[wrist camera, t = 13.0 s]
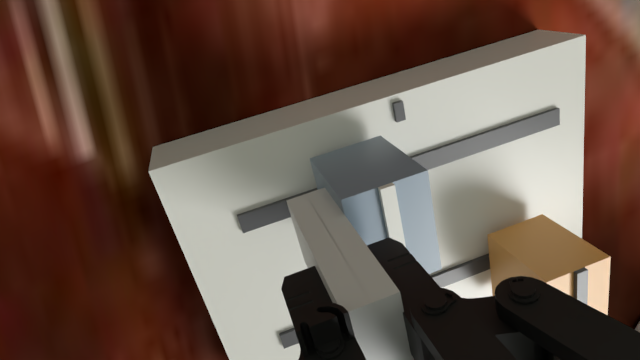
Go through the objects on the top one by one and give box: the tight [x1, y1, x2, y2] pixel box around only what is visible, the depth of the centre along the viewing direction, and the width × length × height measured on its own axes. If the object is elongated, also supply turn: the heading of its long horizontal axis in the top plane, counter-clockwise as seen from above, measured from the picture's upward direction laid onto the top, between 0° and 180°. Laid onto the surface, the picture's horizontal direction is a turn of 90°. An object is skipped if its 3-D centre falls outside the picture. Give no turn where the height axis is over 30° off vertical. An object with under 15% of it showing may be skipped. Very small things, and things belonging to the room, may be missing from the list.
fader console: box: [148, 30, 586, 360], centre depth 23 cm, size 19×13×3 cm
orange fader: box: [487, 214, 611, 315], centre depth 21 cm, size 3×4×4 cm
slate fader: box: [310, 136, 442, 274], centre depth 17 cm, size 3×4×4 cm
